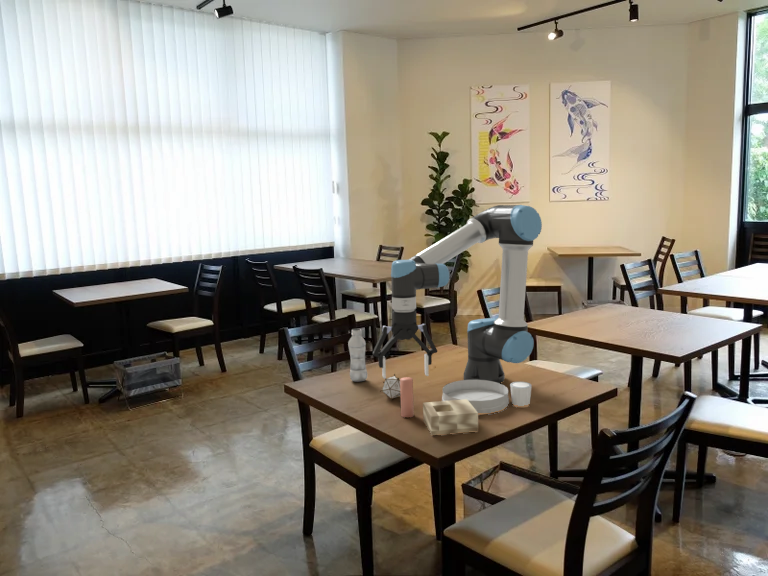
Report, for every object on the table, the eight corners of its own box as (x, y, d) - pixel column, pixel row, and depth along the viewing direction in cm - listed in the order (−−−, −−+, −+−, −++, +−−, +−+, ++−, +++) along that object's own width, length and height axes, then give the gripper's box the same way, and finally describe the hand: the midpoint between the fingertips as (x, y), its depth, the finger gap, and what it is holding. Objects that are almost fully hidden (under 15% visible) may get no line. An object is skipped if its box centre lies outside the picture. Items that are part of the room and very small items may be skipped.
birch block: (467, 417, 191) (467, 399, 190) (478, 432, 179) (477, 412, 178) (423, 421, 189) (422, 402, 188) (431, 436, 178) (431, 416, 177)
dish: (478, 388, 219) (478, 375, 218) (523, 406, 200) (523, 391, 199) (428, 402, 207) (428, 388, 206) (471, 421, 189) (471, 406, 188)
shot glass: (519, 410, 196) (519, 389, 195) (505, 403, 202) (505, 383, 201) (536, 405, 199) (536, 385, 198) (522, 399, 205) (522, 379, 204)
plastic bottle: (367, 383, 228) (365, 331, 225) (349, 384, 228) (346, 331, 225) (368, 378, 234) (366, 327, 231) (350, 378, 235) (348, 328, 231)
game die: (392, 406, 214) (396, 379, 218) (409, 403, 208) (412, 375, 212) (373, 399, 209) (377, 371, 213) (389, 395, 203) (393, 367, 207)
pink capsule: (412, 412, 197) (411, 376, 195) (414, 417, 193) (413, 380, 191) (400, 413, 196) (399, 377, 194) (402, 418, 192) (401, 381, 191)
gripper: (365, 314, 184) (367, 382, 187) (446, 310, 187) (446, 377, 190) (363, 309, 191) (364, 375, 195) (440, 305, 194) (441, 370, 198)
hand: (405, 376), depth 192 cm, fingers open, 13 cm apart
